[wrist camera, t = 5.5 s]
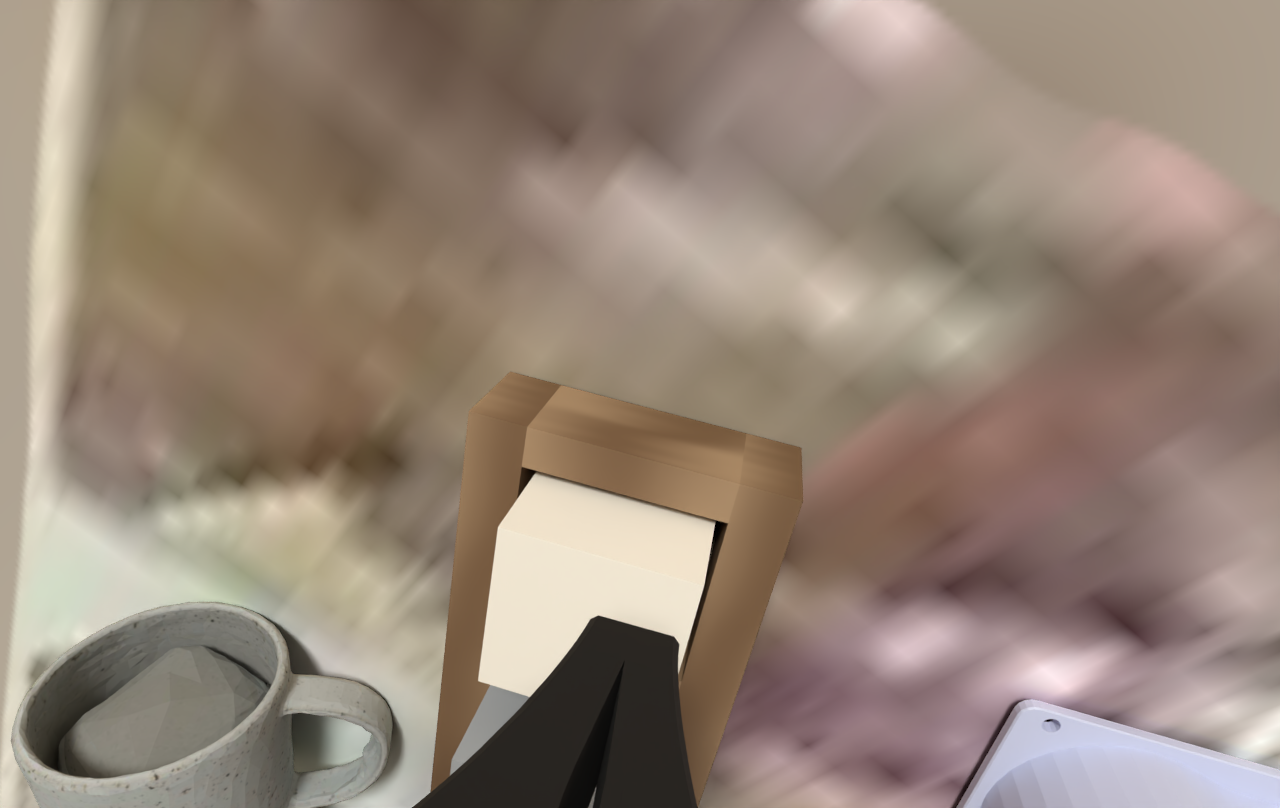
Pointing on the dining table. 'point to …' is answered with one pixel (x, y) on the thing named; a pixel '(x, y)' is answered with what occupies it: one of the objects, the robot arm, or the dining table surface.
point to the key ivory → (586, 575)
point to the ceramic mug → (187, 718)
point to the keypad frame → (644, 469)
